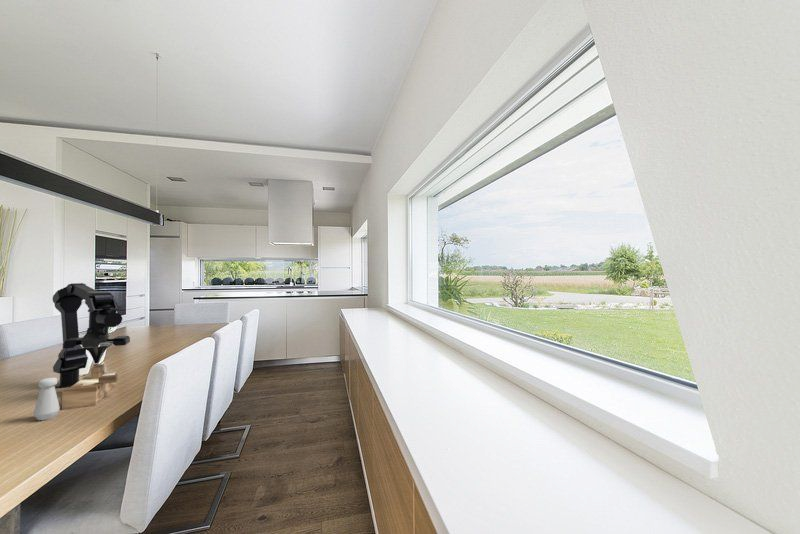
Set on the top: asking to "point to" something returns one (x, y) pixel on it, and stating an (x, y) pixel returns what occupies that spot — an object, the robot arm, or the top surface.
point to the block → (108, 379)
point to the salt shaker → (47, 400)
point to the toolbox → (85, 395)
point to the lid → (94, 375)
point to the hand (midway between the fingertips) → (96, 363)
